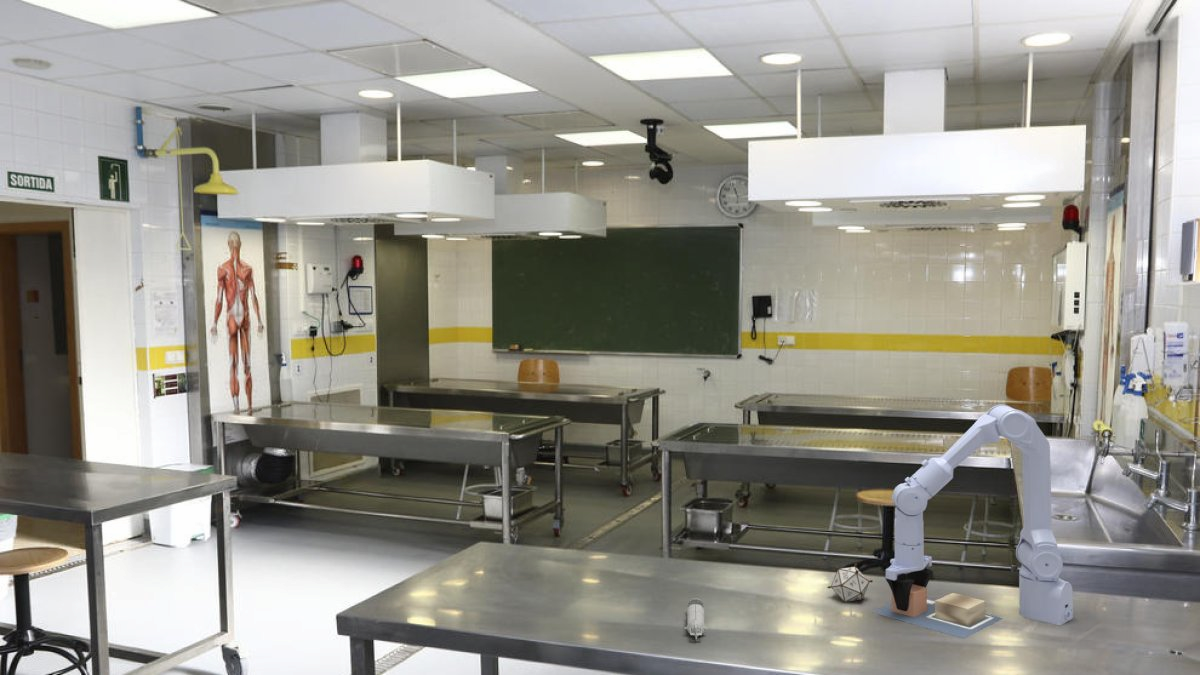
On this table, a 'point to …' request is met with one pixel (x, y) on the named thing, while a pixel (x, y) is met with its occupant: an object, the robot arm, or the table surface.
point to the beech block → (960, 609)
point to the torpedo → (695, 618)
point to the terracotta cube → (914, 602)
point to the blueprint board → (939, 621)
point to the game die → (850, 584)
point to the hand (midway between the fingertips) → (909, 606)
